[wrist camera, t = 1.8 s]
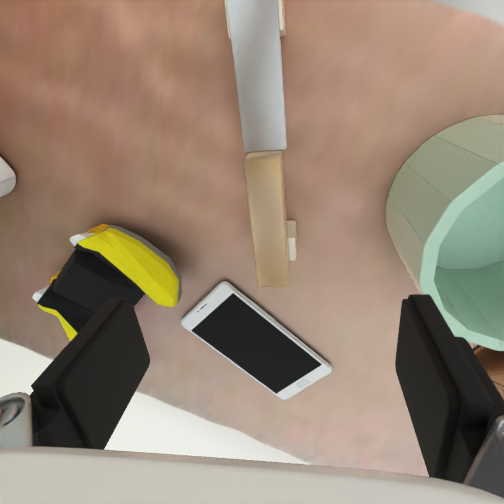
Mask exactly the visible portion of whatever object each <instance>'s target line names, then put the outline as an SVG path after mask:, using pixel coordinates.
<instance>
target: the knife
mask: <svg viewBox="0 0 504 504" xmlns="http://www.w3.org/2000/svg"><path fill="white" fill-rule="evenodd" d="M226 1H227V9H228V18H229V26H230V35H231V44H232V52H233V61H234V69H235V78H236V87H237V95H238V104H239V112H240V121H241V129H242V138H243V147H244V153H249V154H248V155H247V156H246V158H245V159H244V161H243V164H244V172H245V181H246V189H247V197H248V206H249V214H250V223H251V231H252V239H253V248H254V256H255V264H256V273H257V281H258V287H289V276H290V258H289V243H288V228H287V212H286V197H285V182H284V167H283V151H282V150H284V149H287V141H286V125H285V108H284V91H283V74H282V57H281V40H280V24H279V7H278V0H226Z"/></svg>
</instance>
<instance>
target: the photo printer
mask: <svg viewBox="0 0 504 504" xmlns="http://www.w3.org/2000/svg"><path fill="white" fill-rule="evenodd" d="M15 184H16V177H15V173H14V171H13V170H12V169H11V168H10V166H9V165H8V164H7V163H6V162H5V161H4V160H3V159H2V158H1V157H0V197H1V196H4V195H6V194H8V193H10V192H11V191H12V190H13V189H14V187H15Z"/></svg>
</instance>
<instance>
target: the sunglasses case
mask: <svg viewBox="0 0 504 504" xmlns="http://www.w3.org/2000/svg"><path fill="white" fill-rule="evenodd" d="M473 351H474V353H475V354H476V356H477V358H478V359H479V361H480V362H481V364H482V366H483V367H484V369H485V370H486V372H487V374H488V375H489V377H490V378H491V380H492V382H493V383H494V385H495V386H496V388H497V390H498V391H499V393H500V394H501V396H502V398H503V399H504V351H497V350H493V349H490V348H487V347H484V346H481V345H479V346H478V347H476V348H475V349H473Z"/></svg>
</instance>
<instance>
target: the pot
mask: <svg viewBox="0 0 504 504" xmlns="http://www.w3.org/2000/svg"><path fill="white" fill-rule="evenodd" d="M386 227H387V229H388V232H389V235H390V237H391V239H392V242H393V244H394V247H395V249H396V251H397V253H398V255H399V257H400V259H401V260H402V262H403V264H404V266H405V268H406V270H407V272H408V273H409V275H410V277H411V279H412V281H413V283H414V284H415V286H416V288H417V290H418V292H419V294H429V295H430V296H431V297H432V299H433V300H434V302H435V304H436V305H437V307H438V309H439V311H440V312H441V314H442V316H443V317H444V319H445V321H446V322H447V324H448V326H449V328H450V329H451V331H452V333H453V334H454V335H455V336H456V337H463V338H465V339H466V340H467V341H468V342H471V343H474V344H477V345H481V346H484V347H487V348H490V349H493V350H497V351H504V114H498V115H486V116H480V117H475V118H472V119H468V120H464V121H462V122H459V123H457V124H454V125H452V126H450V127H448V128H446V129H444V130H442V131H440V132H439V133H437V134H436V135H434V136H433V137H431V138H430V139H428V140H427V141H426V142H425V143H423V144H422V145H421V146H420V147H419V148H417V149H416V151H415V152H414V153H413V154H412V155H411V156H410V157H409V158H408V159H407V160H406V162H405V163H404V164H403V166H402V167H401V168H400V170H399V172H398V174H397V175H396V177H395V179H394V181H393V183H392V186H391V188H390V191H389V195H388V198H387V204H386Z"/></svg>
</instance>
